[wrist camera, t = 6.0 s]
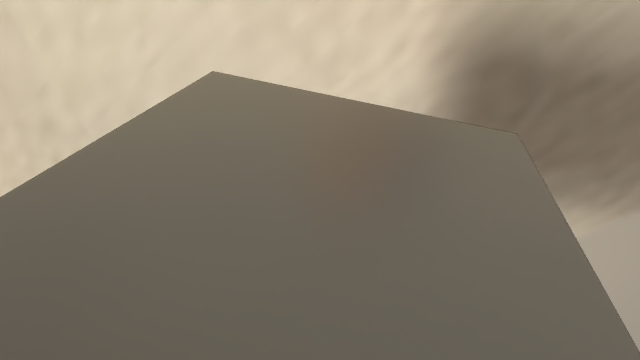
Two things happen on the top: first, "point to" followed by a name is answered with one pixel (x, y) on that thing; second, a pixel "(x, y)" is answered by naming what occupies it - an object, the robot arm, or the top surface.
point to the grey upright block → (296, 240)
